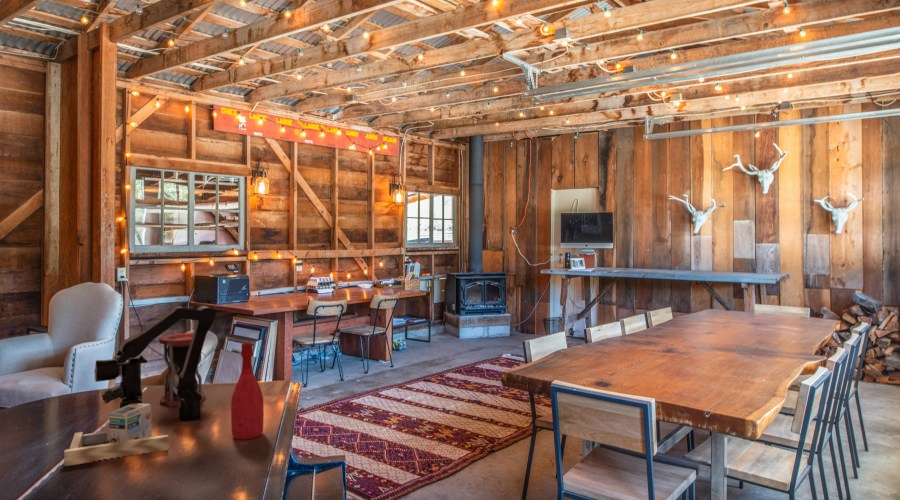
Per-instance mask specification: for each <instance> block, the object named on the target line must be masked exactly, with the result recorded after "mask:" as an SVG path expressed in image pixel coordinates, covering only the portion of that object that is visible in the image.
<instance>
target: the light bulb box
mask: <svg viewBox="0 0 900 500" xmlns="http://www.w3.org/2000/svg"><path fill="white" fill-rule="evenodd" d="M108 414H109V415H108V416H109V418H108V420H109V422H108V424H109V425H108V426H109V427H108V429H109V431H108V432H109V443H114V442H121V441H128V440H135V439H142V438H148V437H152V404H150V403H143V402H142V403H134V404H130V405H127V406H124V407H122V408H120V407H119V408H117V409H114V410H112V411H109V413H108Z"/></svg>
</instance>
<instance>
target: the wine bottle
mask: <svg viewBox="0 0 900 500" xmlns="http://www.w3.org/2000/svg"><path fill="white" fill-rule="evenodd" d="M253 356H254V353H253V343H252V342H249V341H248V342H247V341H245V342H243V343H241V354H240V357H241V358H242V364H241V365H242V366H241V372H240V375H239V378H238V380H237V382H236V384H235V386H234V390H233V392H232V394H231V395H232V396H231V399H230V401H231V402H230V420H231V425H230V427H231V435H232V437H233V438H234V439H236V440H251V439H254V438H255V439H256V438H258V437H259V436H261V435H262V434H263V431H264V413H265V412H264V396H263V391H262V390H261V386H260V384H259V382H258V380H257V378H256V376H255V374H254V369H253V366H252V363H253V362H252V357H253Z"/></svg>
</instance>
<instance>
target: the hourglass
mask: <svg viewBox="0 0 900 500" xmlns="http://www.w3.org/2000/svg"><path fill="white" fill-rule="evenodd" d="M192 336H193V332H191V333H190V332H188V333H176V334H175V333H174V334H169V335H168V334H167V335H163V336H161V337H159V338H158V342H159V344H161V345H163V360H164V363H165V364H166V366H167V372H166V373H165V374H164V377H163V378H164V379H163V383H164V385H163V387H164V388H163V390H164V394H163V395H162V396H161V397H160V399H159V404H160V405H162V406H166V407H178V406H179V405H180V400H182V399H181V398H180V397H178V396H177V395H176V394H175V392H174V390H173V386H172V384H173V382H174V379H175V374H178V375H179V374H180V373H181V372H182V370H183V367H184V364H185V360H186V357H187V353H188V350H189V346H190V343H191V339H192ZM201 362H202V354H201V355H200V358H199V362H198V365H197V369H196V373H195V376H196V385H195V390H196V391H197V392H198V393H199V394H200V395H201V396H202V398H201V401H200V403H201V402H203V401H204V400H206V393H205V392H204V391H203V387H202V386H203V384H202V383H203V382H202V381H203V380H202V375H201V374H200V373H199V365H200V363H201ZM176 367H177V368H178V370H177V369H176ZM170 374H171V377H170V379H168V377H169V376H170ZM197 379H198V380H197Z"/></svg>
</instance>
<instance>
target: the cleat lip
mask: <svg viewBox="0 0 900 500" xmlns="http://www.w3.org/2000/svg"><path fill="white" fill-rule="evenodd" d="M108 432H109V431H98V432H91V433H85V434H83V446H82V447H86V446H93V445H100V444H105V443H104V442H106V443H108V442H107V441H109V439H108V438H109V437H108V436H109V435H108Z"/></svg>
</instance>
